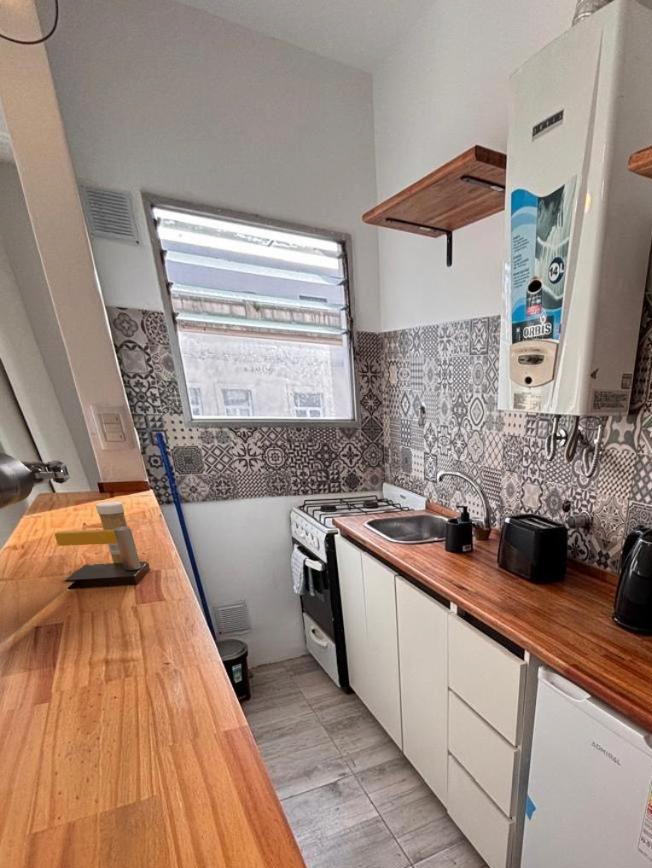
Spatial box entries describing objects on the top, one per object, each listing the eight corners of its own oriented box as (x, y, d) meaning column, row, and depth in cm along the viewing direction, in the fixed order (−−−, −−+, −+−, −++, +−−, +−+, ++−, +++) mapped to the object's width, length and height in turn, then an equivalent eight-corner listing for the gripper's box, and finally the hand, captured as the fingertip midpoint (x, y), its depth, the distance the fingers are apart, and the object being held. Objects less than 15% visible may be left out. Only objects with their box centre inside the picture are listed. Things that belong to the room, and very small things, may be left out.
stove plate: (67, 589, 97) (64, 579, 97) (87, 573, 106) (84, 564, 105) (136, 584, 101) (134, 575, 100) (150, 569, 109) (147, 560, 108)
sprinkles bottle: (143, 564, 112) (127, 501, 106) (127, 570, 108) (109, 505, 102) (125, 562, 113) (108, 500, 107) (108, 568, 109) (89, 504, 103)
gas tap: (65, 574, 99) (52, 532, 96) (71, 569, 102) (58, 529, 98) (138, 570, 103) (128, 529, 99) (142, 565, 105) (132, 526, 102)
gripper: (37, 454, 75) (81, 444, 89) (-87, 455, 71) (-20, 444, 86) (54, 506, 78) (94, 488, 93) (-64, 510, 74) (-3, 490, 89)
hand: (39, 467), depth 89 cm, fingers open, 5 cm apart
